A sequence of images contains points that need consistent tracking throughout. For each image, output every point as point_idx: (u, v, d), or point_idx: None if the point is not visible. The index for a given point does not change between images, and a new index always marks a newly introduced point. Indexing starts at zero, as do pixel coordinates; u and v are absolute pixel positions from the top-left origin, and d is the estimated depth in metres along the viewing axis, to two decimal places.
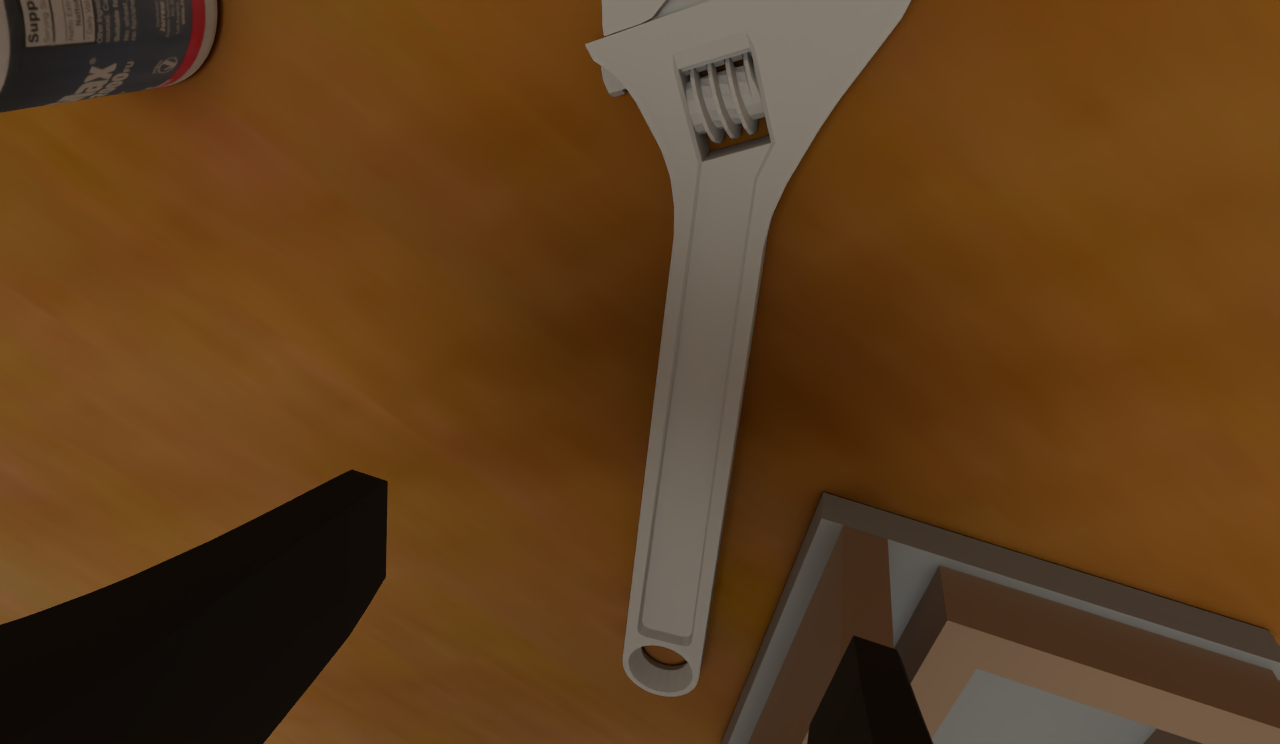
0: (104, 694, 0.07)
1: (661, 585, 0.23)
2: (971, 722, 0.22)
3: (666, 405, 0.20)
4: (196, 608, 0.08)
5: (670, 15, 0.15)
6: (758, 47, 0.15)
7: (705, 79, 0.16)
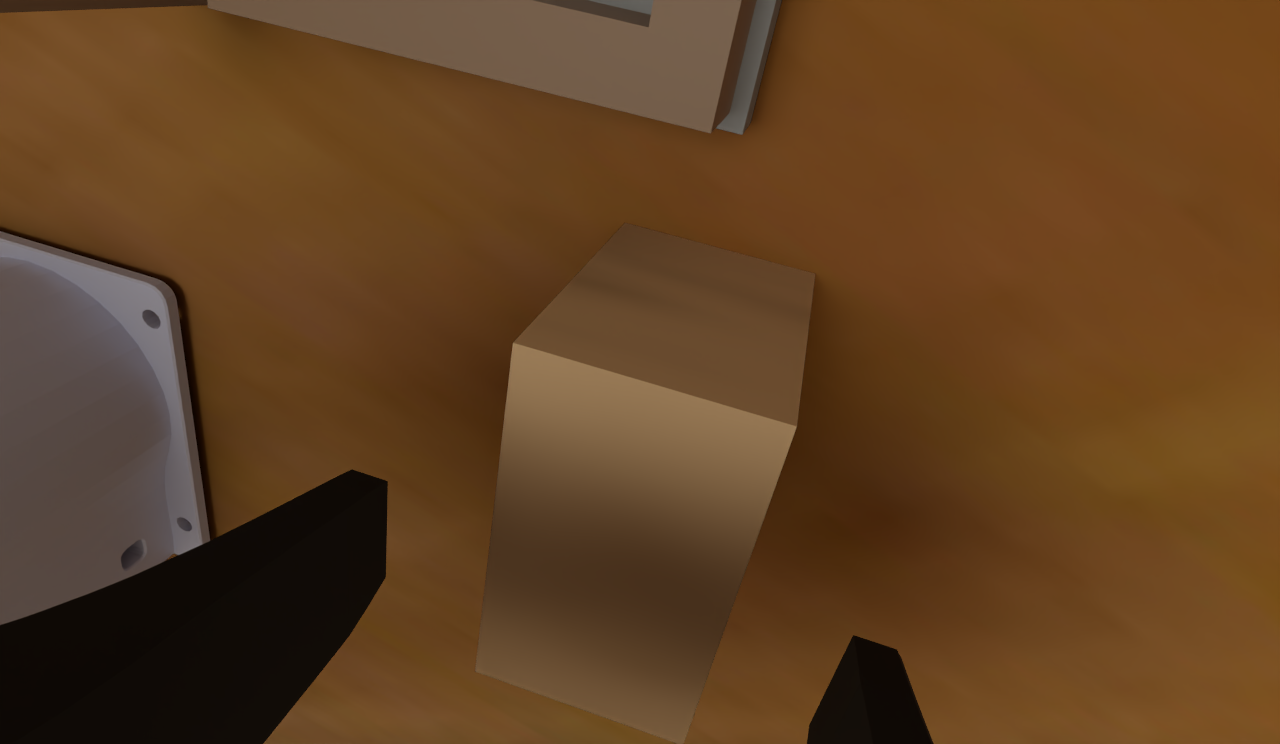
0: (104, 694, 0.07)
1: None
2: None
3: None
4: (196, 608, 0.08)
5: None
6: None
7: None
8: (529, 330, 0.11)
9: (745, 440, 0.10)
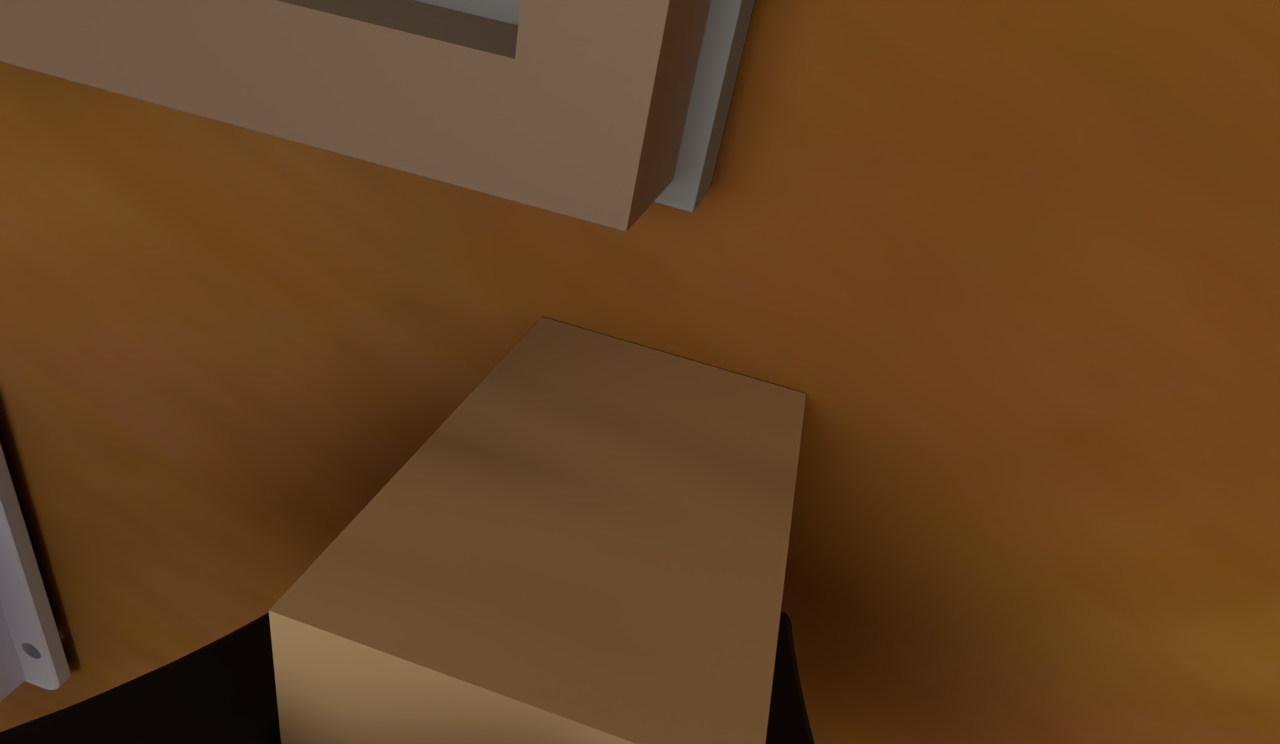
0: None
1: None
2: None
3: None
4: None
5: None
6: None
7: None
8: (312, 571, 0.06)
9: None
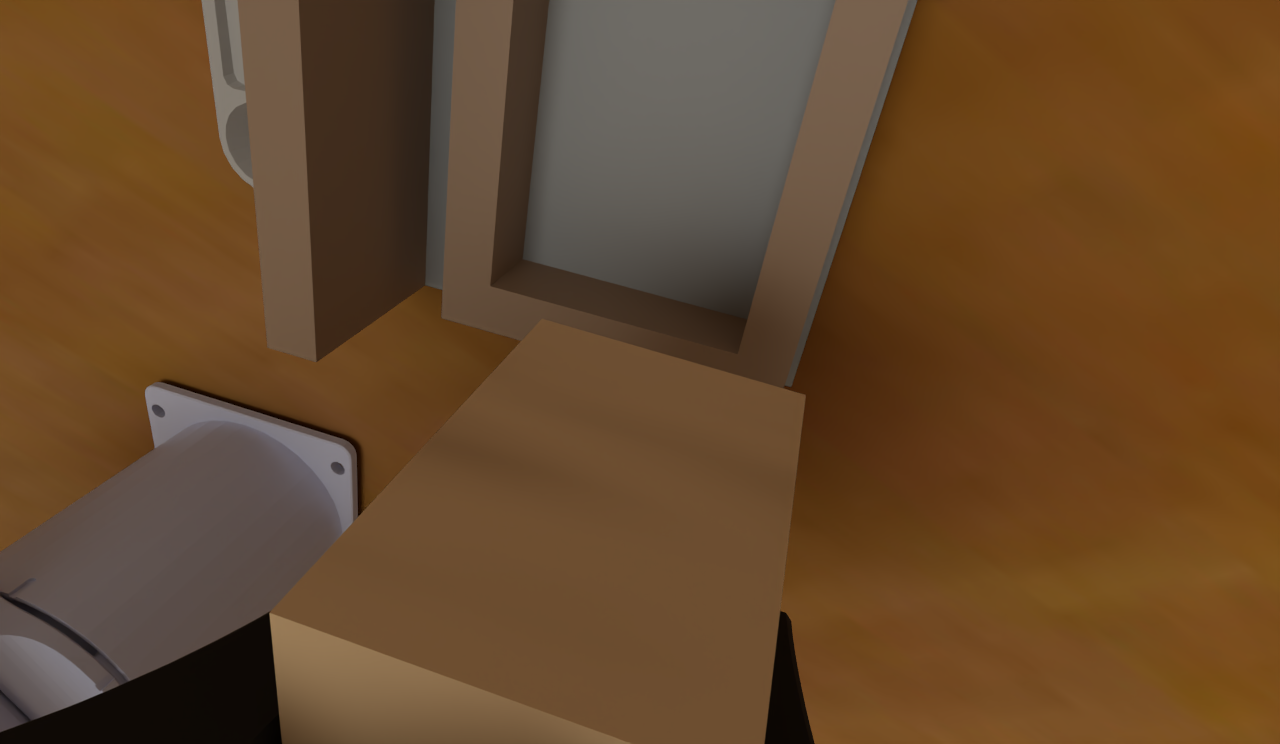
0: None
1: None
2: (618, 71, 0.17)
3: None
4: None
5: None
6: None
7: None
8: (313, 573, 0.06)
9: None
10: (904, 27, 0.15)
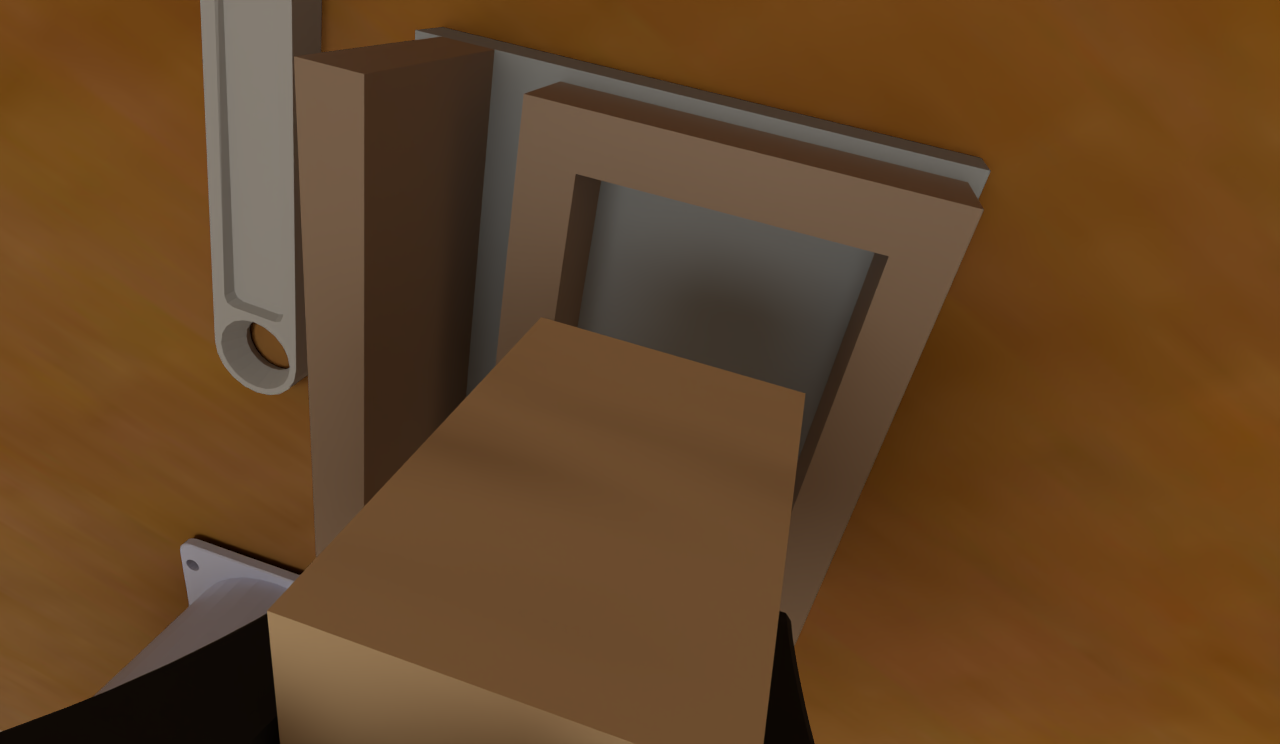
0: None
1: (247, 237, 0.20)
2: (649, 339, 0.18)
3: None
4: None
5: None
6: None
7: None
8: (310, 571, 0.06)
9: None
10: None
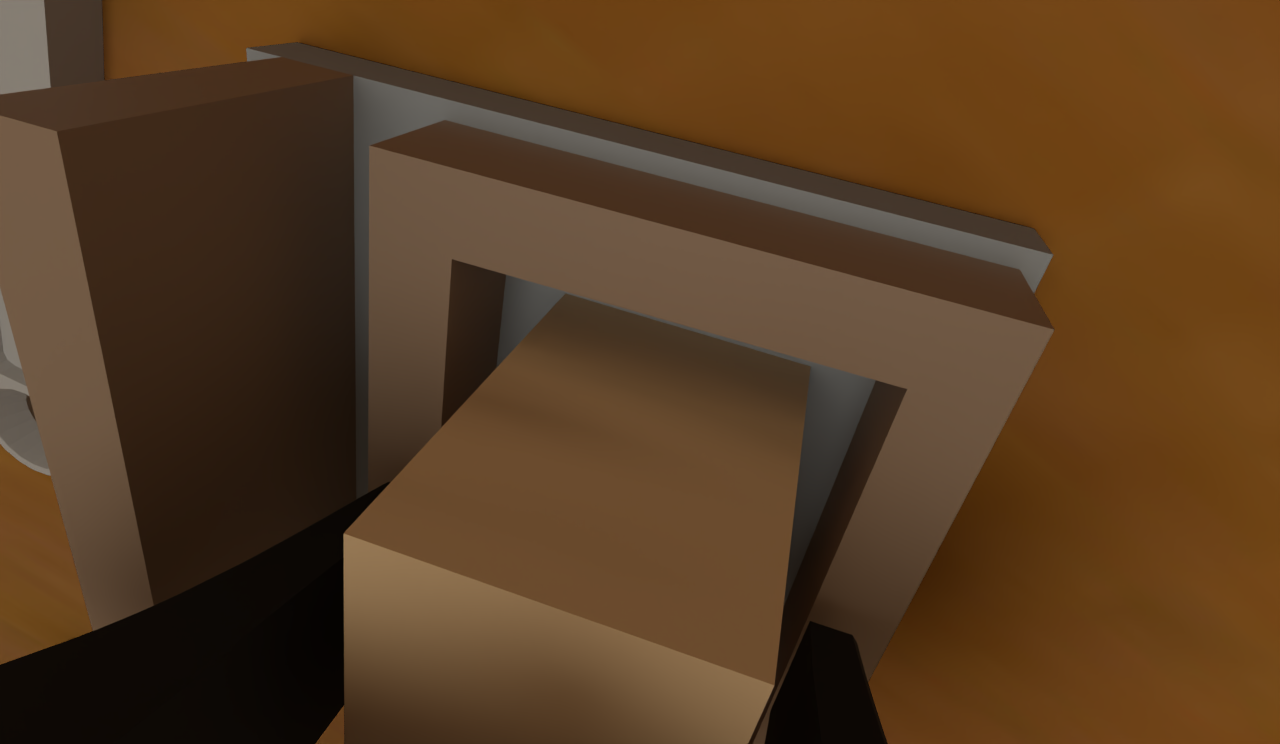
0: (161, 716, 0.07)
1: None
2: None
3: None
4: (246, 626, 0.08)
5: None
6: None
7: None
8: (378, 502, 0.07)
9: (696, 693, 0.07)
10: None
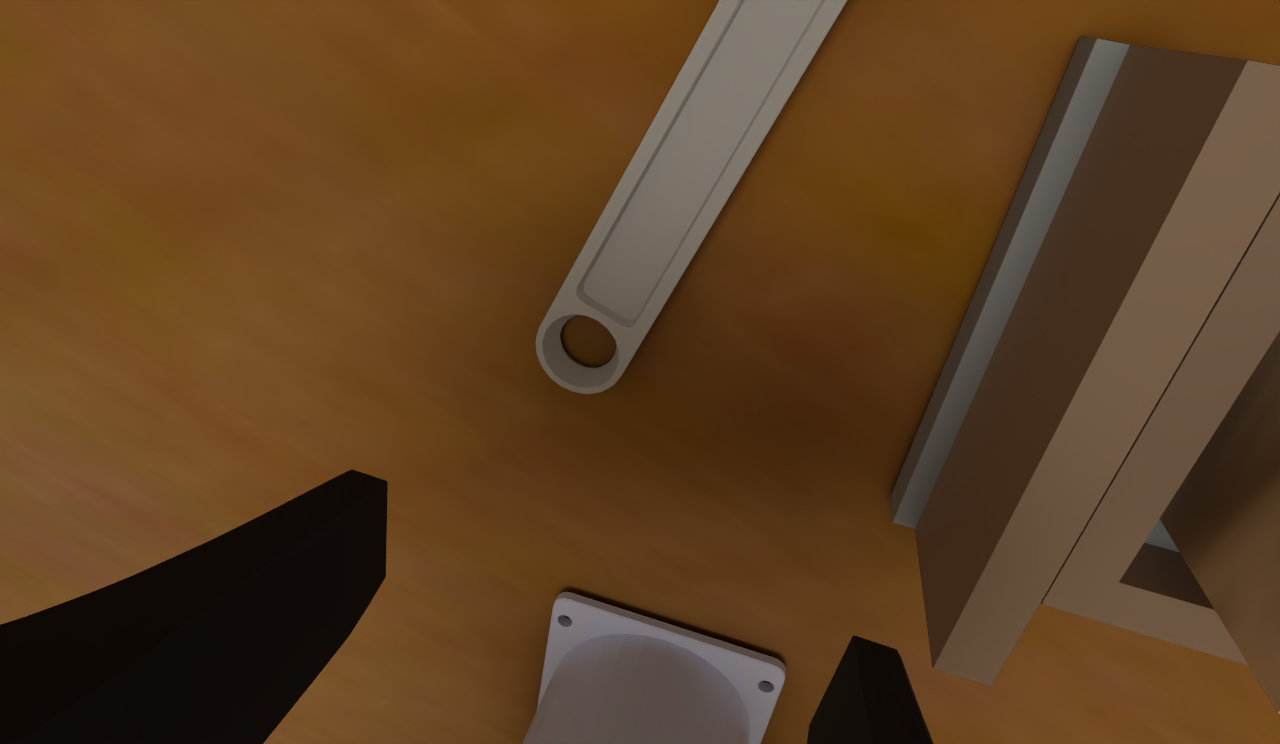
0: (104, 694, 0.07)
1: (630, 237, 0.19)
2: None
3: None
4: (196, 608, 0.08)
5: None
6: None
7: None
8: None
9: None
10: None
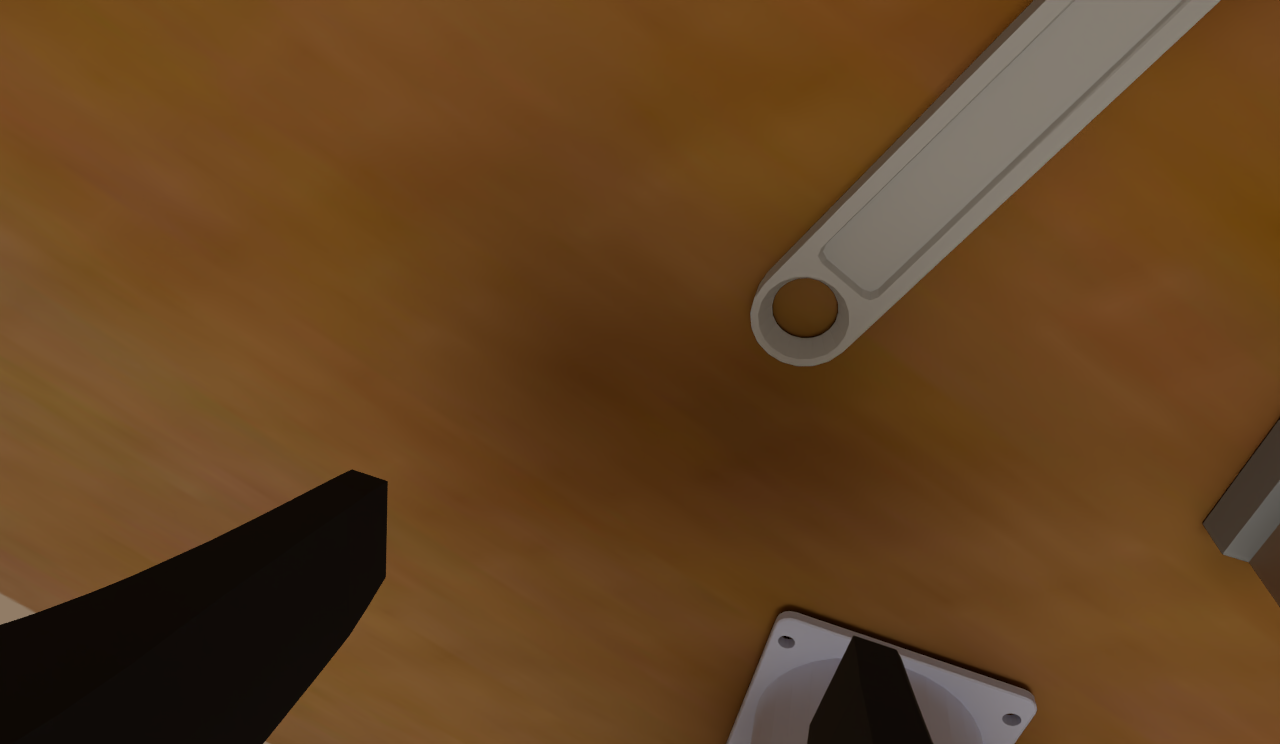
0: (104, 694, 0.07)
1: (898, 200, 0.17)
2: None
3: None
4: (196, 608, 0.08)
5: None
6: None
7: None
8: None
9: None
10: None
